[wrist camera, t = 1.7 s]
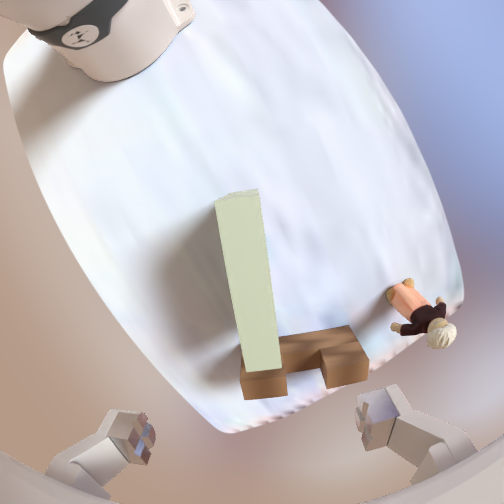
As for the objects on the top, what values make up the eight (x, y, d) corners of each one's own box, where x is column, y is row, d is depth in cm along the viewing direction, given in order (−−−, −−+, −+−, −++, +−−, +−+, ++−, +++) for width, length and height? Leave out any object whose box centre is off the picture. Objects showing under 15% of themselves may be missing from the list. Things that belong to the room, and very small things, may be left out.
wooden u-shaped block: (246, 359, 35) (244, 400, 27) (242, 341, 34) (239, 381, 27) (348, 343, 35) (367, 379, 27) (348, 325, 34) (369, 360, 26)
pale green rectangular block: (230, 193, 30) (214, 201, 18) (257, 189, 30) (259, 194, 18) (249, 309, 33) (246, 372, 22) (273, 306, 33) (282, 368, 22)
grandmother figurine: (414, 265, 32) (473, 305, 19) (422, 287, 32) (477, 330, 20) (368, 299, 33) (414, 354, 21) (379, 319, 34) (422, 375, 21)
